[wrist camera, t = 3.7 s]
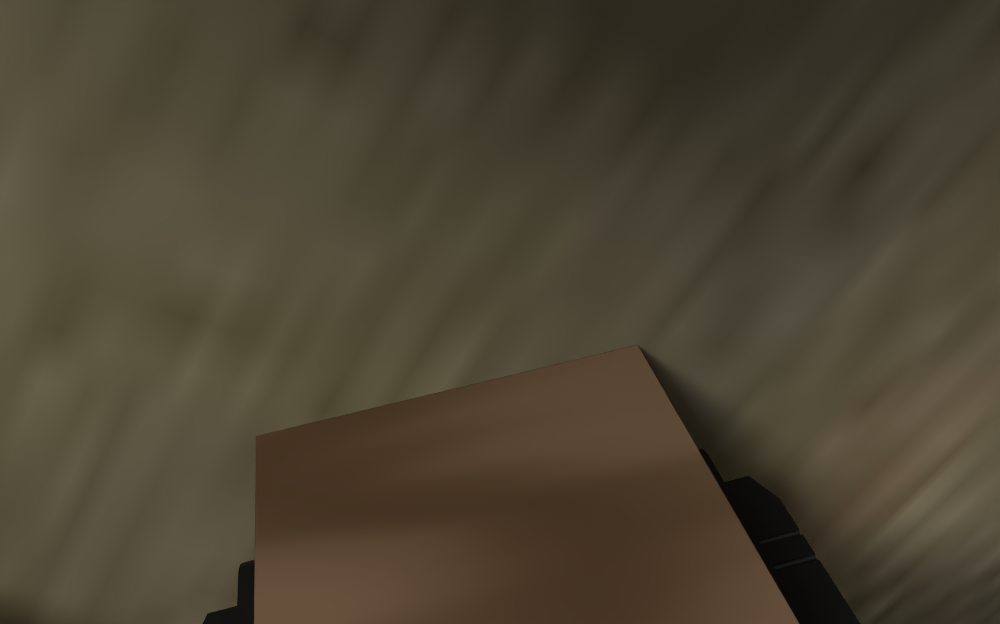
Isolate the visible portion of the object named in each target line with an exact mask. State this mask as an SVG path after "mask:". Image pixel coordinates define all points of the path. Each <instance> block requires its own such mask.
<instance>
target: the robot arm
mask: <svg viewBox="0 0 1000 624" xmlns="http://www.w3.org/2000/svg"><path fill="white" fill-rule="evenodd" d="M698 450H699V452H700V454H701V455H702V457H703V459H704V461H705V462H706V464H707V466H708V467H709V469H710V471H711V473H712V474H713V476H714V478H715V480H716V481H717V483H718V485H719V486H720V488H721V490H722V492H723V493H724V495H725V497H726V498H727V500H728V502H729V504H730V505H731V507H732V509H733V511H734V512H735V514H736V516H737V517H738V519H739V521H740V523H741V524H742V526H743V528H744V530H745V531H746V533H747V535H748V536H749V538H750V540H751V542H752V543H753V545H754V547H755V548H756V550H757V552H758V554H759V555H760V557H761V559H762V561H763V562H764V564H765V566H766V567H767V569H768V571H769V573H770V574H771V576H772V578H773V579H774V581H775V583H776V585H777V586H778V588H779V590H780V592H781V593H782V595H783V597H784V598H785V600H786V602H787V604H788V605H789V607H790V609H791V611H792V612H793V614H794V616H795V617H796V619H797V621H798V623H799V624H860V623H859V621H858V619H857V618H856V616H855V615H854V613H853V612H852V610H851V609H850V607H849V606H848V604H847V602H846V601H845V599H844V598H843V596H842V595H841V593H840V592H839V590H838V589H837V587H836V585H835V584H834V582H833V581H832V579H831V578H830V576H829V575H828V573H827V572H826V570H825V568H824V567H823V565H822V564H821V562H820V561H819V560H817V559H816V557H815V553H814V551H813V550H812V548H811V547H810V545H809V544H808V542H807V541H806V539H805V537H804V536H803V535H801V534H800V532H799V528H798V527H797V525H796V524H795V522H794V520H793V519H792V517H791V516H790V514H789V513H788V511H787V510H786V508H785V506H784V505H783V503H782V502H781V500H780V499H779V498H778V497H776V496H775V495H774V494H772V493H771V492H770V491H768V490H767V489H765V488H764V487H763V486H761V485H760V484H759V483H757V482H756V481H755V480H753V479H752V478H750V477H749V476H747V477H743V478H739V479H735V480H731V481H727V482H724V481H723V479H722V478H721V476H720V474H719V473H718V471H717V469H716V468H715V466H714V464H713V462H712V461H711V459H710V457H709V456H708V454H707V453H706V452H705V451H704V450H703V449H698ZM254 586H255V560H252V561H248V562H244V563H241V565H240V567H239V572H238V601H237V606H235V607H231V608H227V609H223V610H219V611H216V612H212V613H208V614H207V616H206V618H205V620H204V622H203V624H254Z"/></svg>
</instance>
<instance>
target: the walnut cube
mask: <svg viewBox="0 0 1000 624" xmlns="http://www.w3.org/2000/svg"><path fill="white" fill-rule="evenodd" d="M254 624H799V623H798V621H797V619H796V617H795V616H794V614H793V612H792V611H791V609H790V607H789V605H788V604H787V602H786V600H785V598H784V597H783V595H782V593H781V592H780V590H779V588H778V586H777V585H776V583H775V581H774V579H773V578H772V576H771V574H770V573H769V571H768V569H767V567H766V566H765V564H764V562H763V561H762V559H761V557H760V555H759V554H758V552H757V550H756V548H755V547H754V545H753V543H752V542H751V540H750V538H749V536H748V535H747V533H746V531H745V530H744V528H743V526H742V524H741V523H740V521H739V519H738V517H737V516H736V514H735V512H734V511H733V509H732V507H731V505H730V504H729V502H728V500H727V498H726V497H725V495H724V493H723V492H722V490H721V488H720V486H719V485H718V483H717V481H716V480H715V478H714V476H713V474H712V473H711V471H710V469H709V467H708V466H707V464H706V462H705V461H704V459H703V457H702V455H701V454H700V452H699V450H698V449H697V447H696V445H695V443H694V442H693V440H692V438H691V436H690V435H689V433H688V431H687V430H686V428H685V426H684V424H683V423H682V421H681V419H680V418H679V416H678V414H677V412H676V411H675V409H674V407H673V405H672V404H671V402H670V400H669V399H668V397H667V395H666V393H665V392H664V390H663V388H662V386H661V385H660V383H659V381H658V380H657V378H656V376H655V374H654V373H653V371H652V369H651V368H650V366H649V364H648V362H647V361H646V359H645V357H644V355H643V354H642V352H641V350H640V349H639V347H638V345H635V346H631V347H627V348H623V349H619V350H614V351H610V352H606V353H602V354H598V355H593V356H589V357H585V358H581V359H577V360H573V361H568V362H564V363H560V364H556V365H552V366H547V367H543V368H539V369H535V370H531V371H527V372H522V373H518V374H514V375H510V376H506V377H502V378H497V379H493V380H489V381H485V382H481V383H476V384H472V385H468V386H464V387H460V388H456V389H451V390H447V391H443V392H439V393H435V394H431V395H426V396H422V397H418V398H414V399H410V400H405V401H401V402H397V403H393V404H389V405H385V406H380V407H376V408H372V409H368V410H364V411H359V412H355V413H351V414H347V415H343V416H339V417H334V418H330V419H326V420H322V421H318V422H314V423H309V424H305V425H301V426H297V427H293V428H288V429H284V430H280V431H276V432H272V433H268V434H263V435H259V436H256V492H255V586H254Z"/></svg>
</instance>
